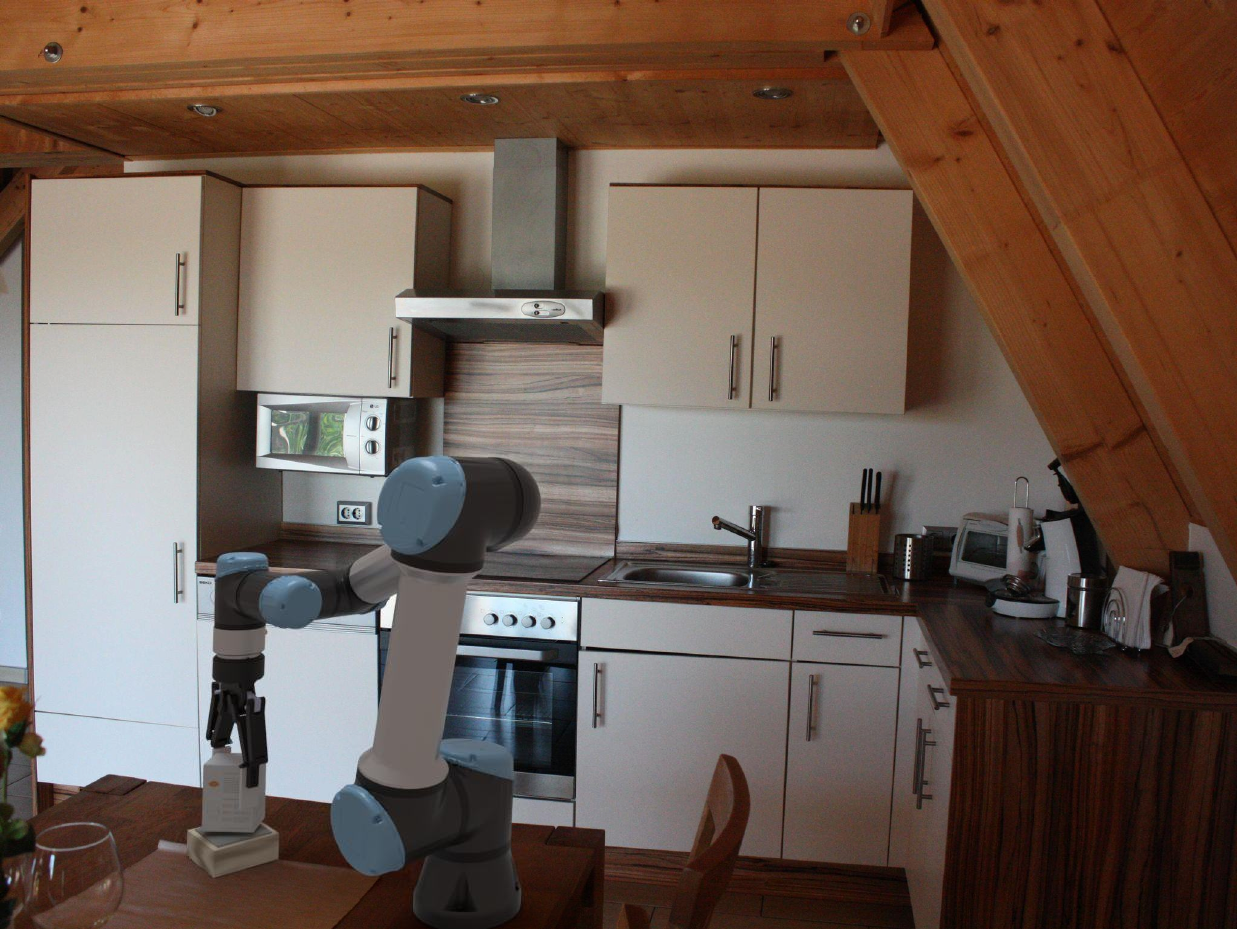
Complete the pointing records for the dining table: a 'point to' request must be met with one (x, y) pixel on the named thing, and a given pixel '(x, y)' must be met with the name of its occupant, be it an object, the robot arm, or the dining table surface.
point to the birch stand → (232, 849)
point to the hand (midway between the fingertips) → (234, 797)
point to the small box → (229, 796)
